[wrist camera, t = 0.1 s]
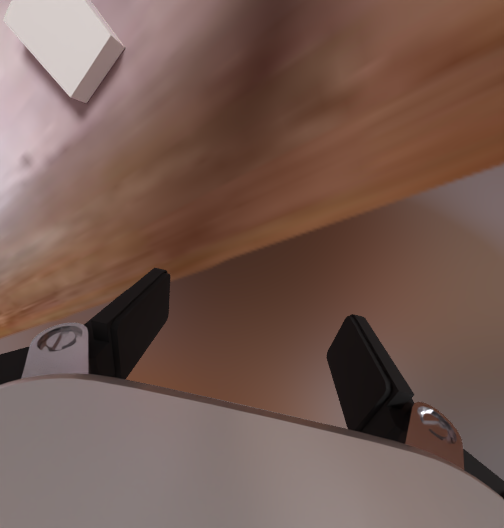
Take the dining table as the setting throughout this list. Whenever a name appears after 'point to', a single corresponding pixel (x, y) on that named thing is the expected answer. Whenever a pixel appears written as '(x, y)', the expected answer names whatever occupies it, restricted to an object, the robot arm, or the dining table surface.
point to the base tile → (66, 41)
